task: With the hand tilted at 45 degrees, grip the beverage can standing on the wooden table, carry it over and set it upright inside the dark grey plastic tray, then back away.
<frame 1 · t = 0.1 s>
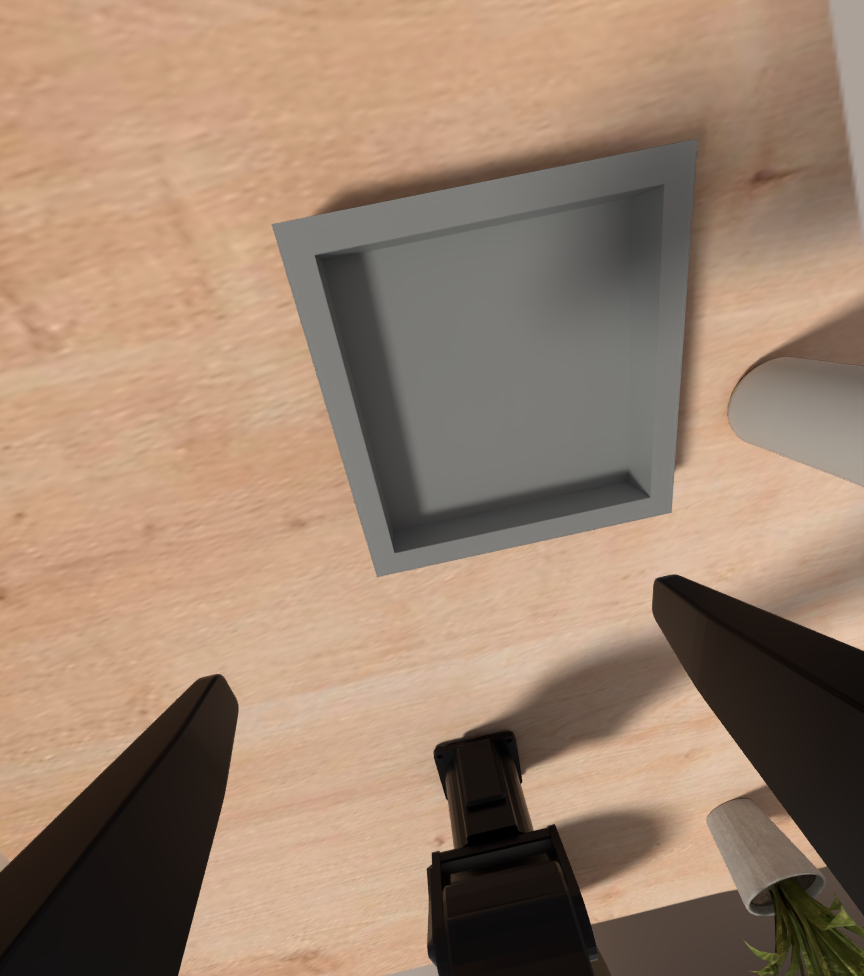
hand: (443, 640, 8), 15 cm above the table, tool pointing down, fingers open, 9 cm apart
house plant: (725, 806, 41), on the table
beverage can: (758, 399, 23), on the table
tray: (493, 384, 21), on the table
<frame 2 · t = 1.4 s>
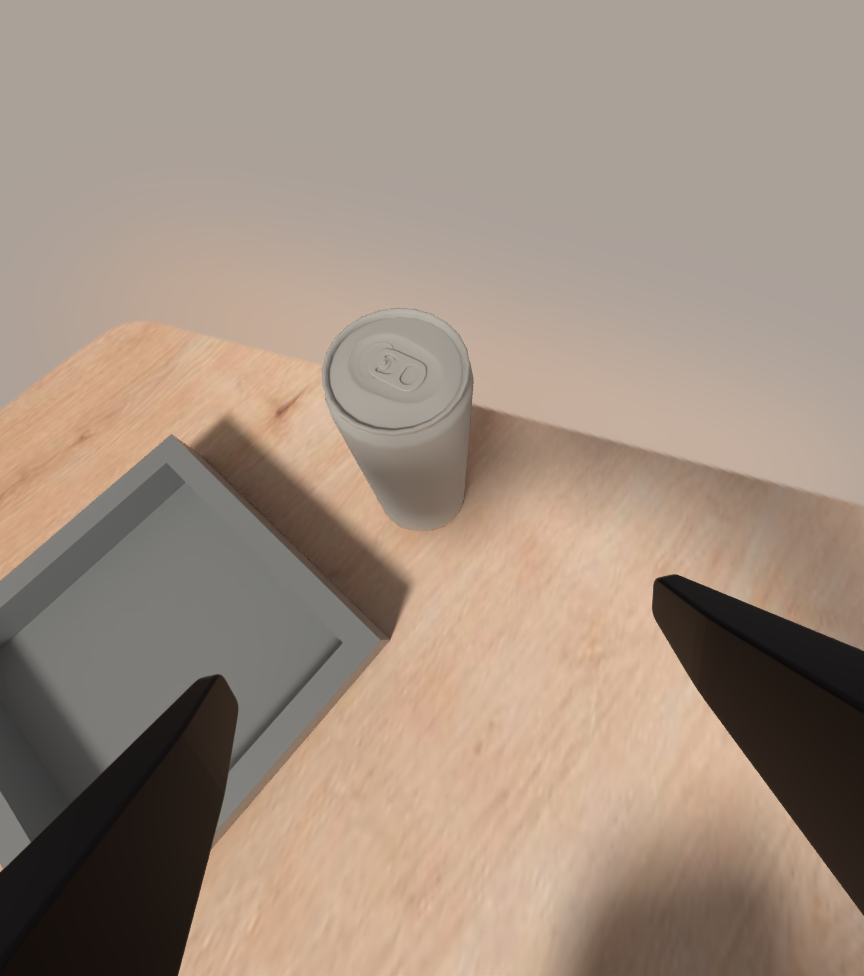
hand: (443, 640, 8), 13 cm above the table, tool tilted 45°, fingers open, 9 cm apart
beverage can: (423, 495, 24), on the table
tray: (175, 653, 21), on the table
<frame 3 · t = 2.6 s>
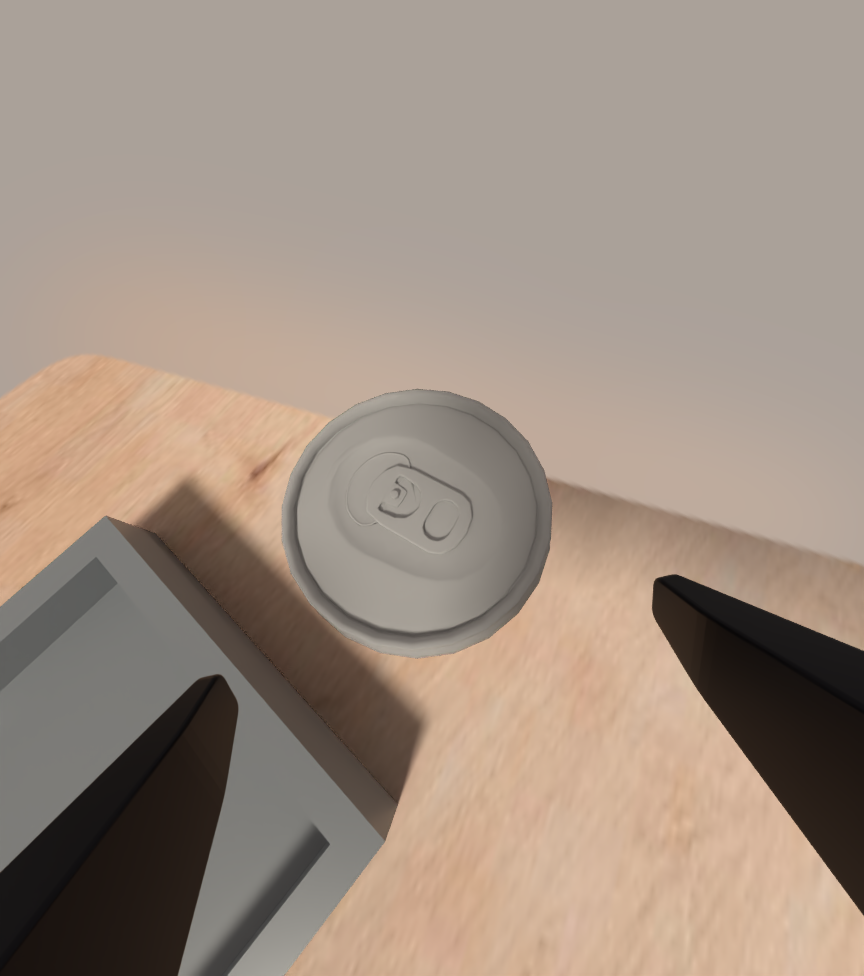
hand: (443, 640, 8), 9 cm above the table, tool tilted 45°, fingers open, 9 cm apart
beverage can: (440, 589, 18), on the table
tray: (103, 821, 16), on the table
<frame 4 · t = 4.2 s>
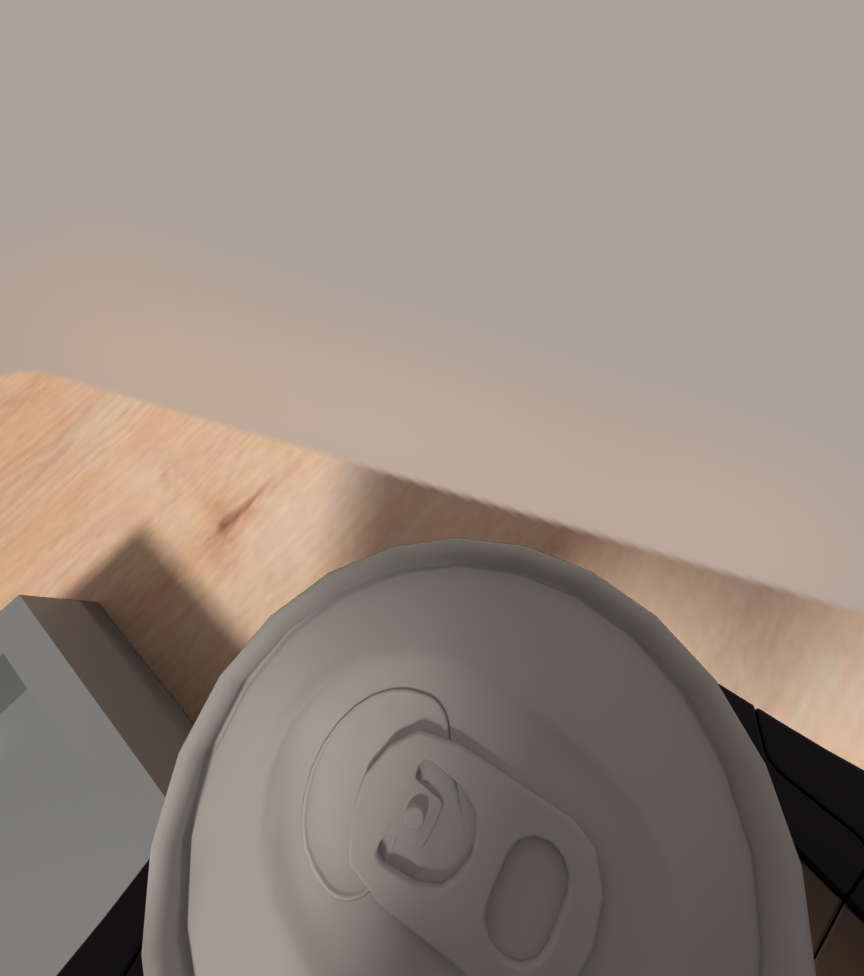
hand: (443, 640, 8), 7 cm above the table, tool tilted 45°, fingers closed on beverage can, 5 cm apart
beverage can: (456, 680, 14), on the table, touching gripper
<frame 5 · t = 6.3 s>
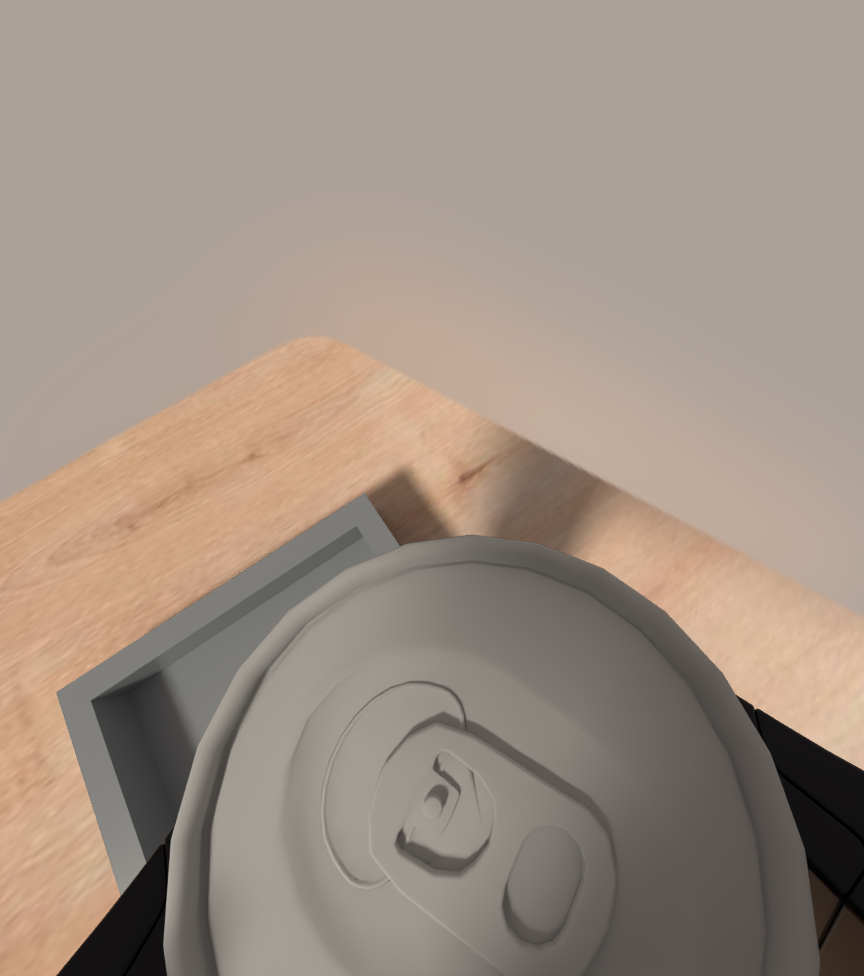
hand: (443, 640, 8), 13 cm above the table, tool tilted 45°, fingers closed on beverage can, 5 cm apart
beverage can: (450, 679, 14), point 6 cm above the table, touching gripper
tray: (321, 733, 20), on the table
when the fingers open (9 cm above the table, at t = 8.8 s): beverage can drops 1 cm, resting on tray.
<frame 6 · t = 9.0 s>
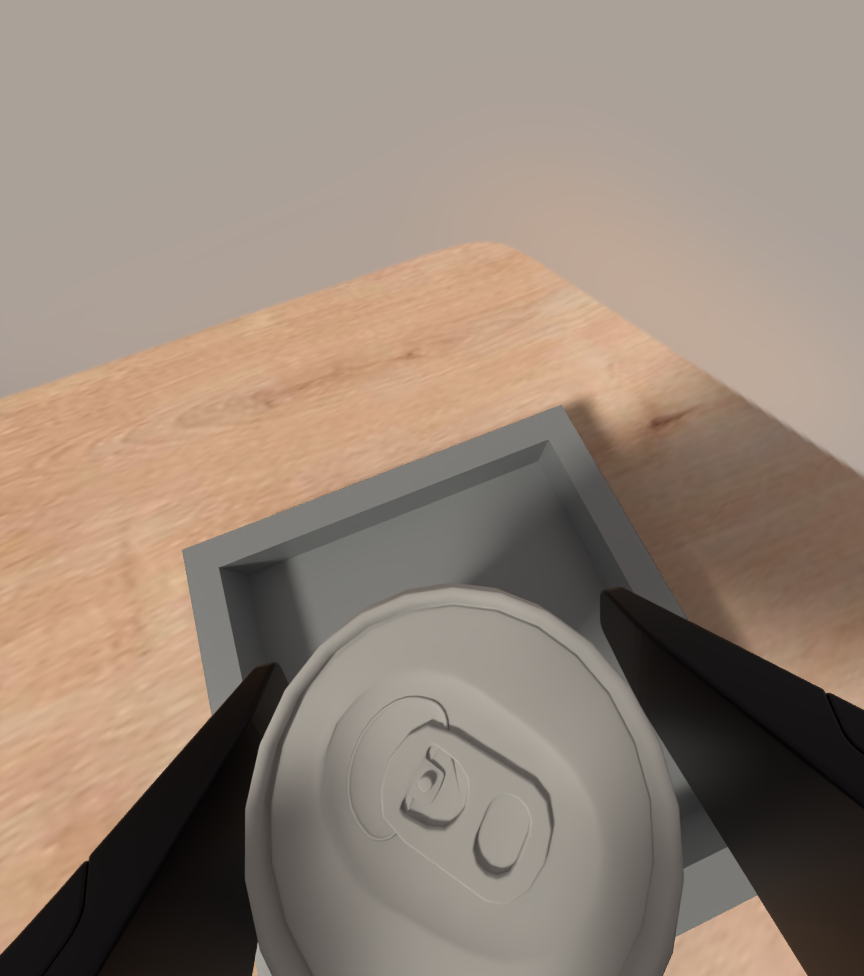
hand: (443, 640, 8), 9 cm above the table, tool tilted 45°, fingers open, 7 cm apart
beverage can: (449, 682, 16), point 1 cm above the table, touching tray
tray: (456, 673, 16), on the table
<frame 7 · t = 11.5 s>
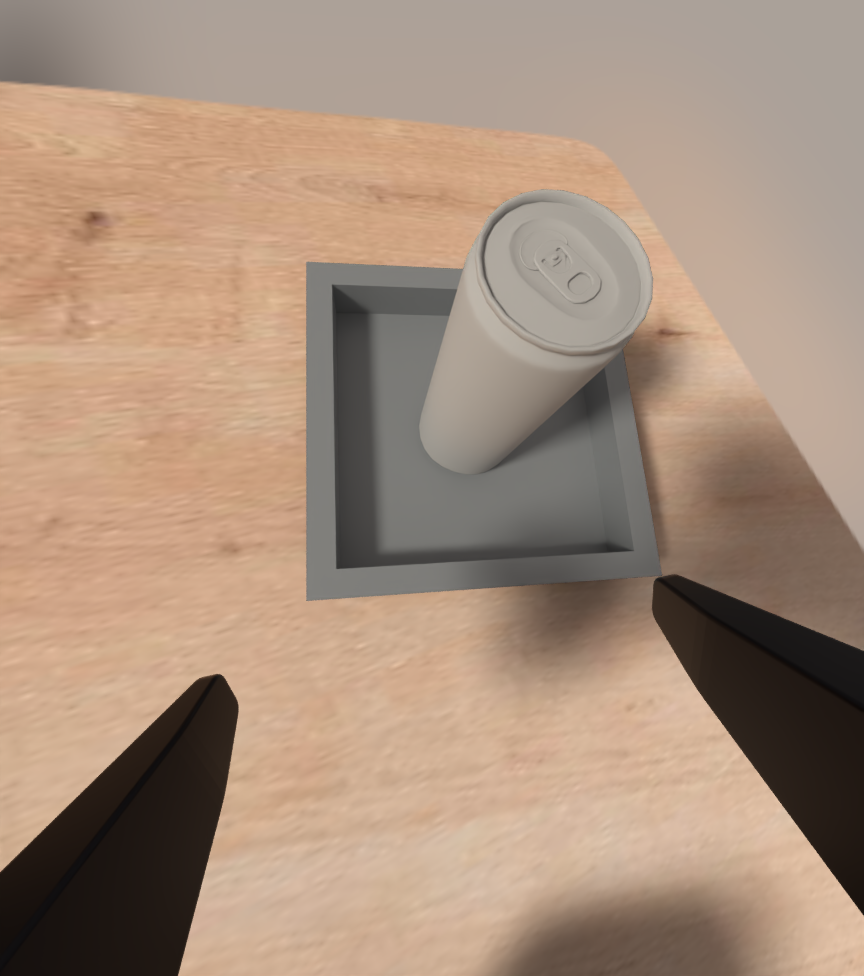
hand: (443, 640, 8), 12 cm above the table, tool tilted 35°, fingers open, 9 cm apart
beverage can: (462, 434, 22), point 1 cm above the table, touching tray
tray: (466, 436, 22), on the table
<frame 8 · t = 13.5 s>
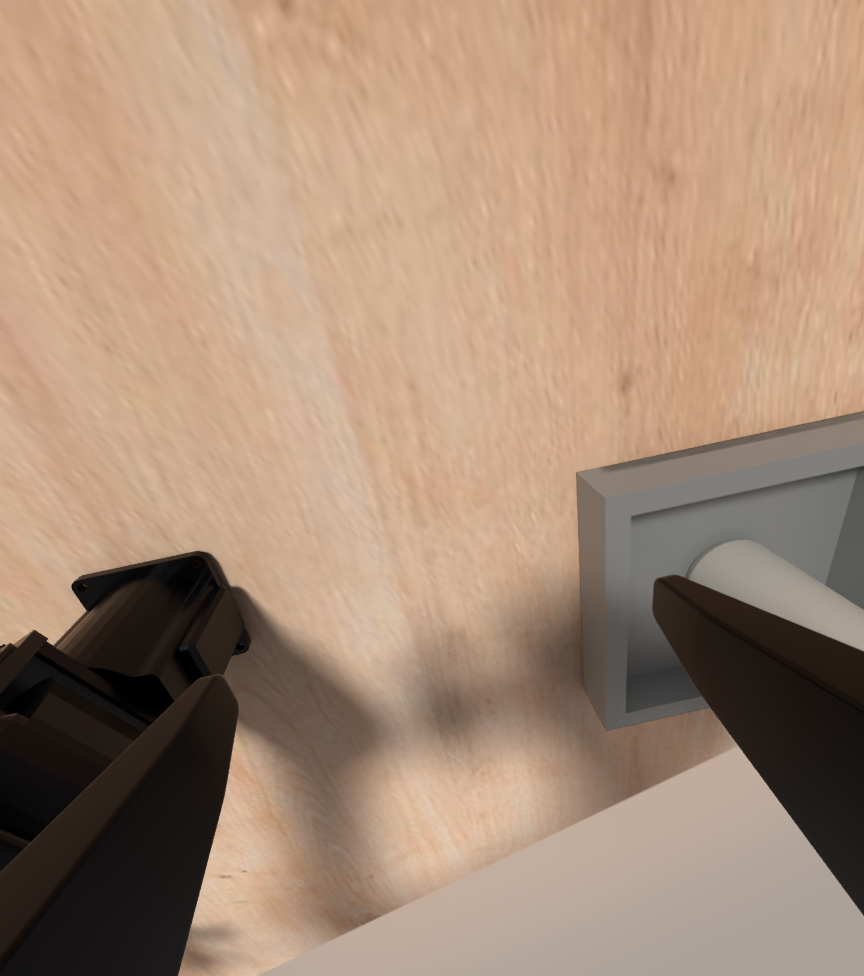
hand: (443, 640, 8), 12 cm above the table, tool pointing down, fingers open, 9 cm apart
beverage can: (717, 568, 24), point 1 cm above the table, touching tray
tray: (711, 566, 24), on the table
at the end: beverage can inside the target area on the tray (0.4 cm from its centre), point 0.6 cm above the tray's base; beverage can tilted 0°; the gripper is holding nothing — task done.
